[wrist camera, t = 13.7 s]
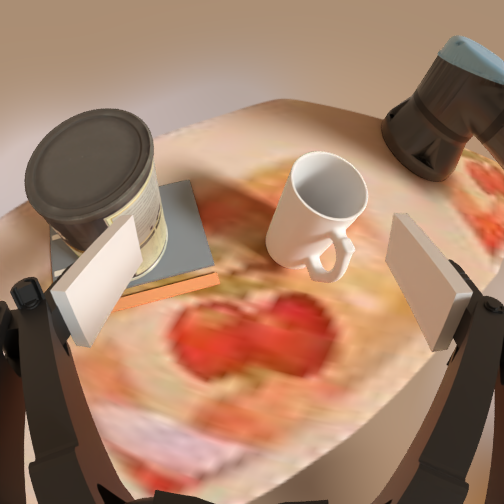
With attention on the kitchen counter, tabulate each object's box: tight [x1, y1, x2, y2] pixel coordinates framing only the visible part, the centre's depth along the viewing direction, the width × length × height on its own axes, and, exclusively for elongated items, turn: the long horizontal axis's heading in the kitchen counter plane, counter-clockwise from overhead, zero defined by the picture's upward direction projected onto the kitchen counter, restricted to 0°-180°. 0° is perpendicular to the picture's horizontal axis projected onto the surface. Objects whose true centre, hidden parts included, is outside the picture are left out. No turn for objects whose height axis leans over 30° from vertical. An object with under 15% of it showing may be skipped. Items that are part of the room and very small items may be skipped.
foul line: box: [111, 272, 220, 313], centre depth 29 cm, size 18×1×1 cm, turn 109°
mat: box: [50, 180, 214, 288], centre depth 32 cm, size 18×11×1 cm, turn 109°
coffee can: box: [25, 109, 168, 281], centre depth 25 cm, size 10×10×14 cm
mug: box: [266, 151, 368, 283], centre depth 29 cm, size 10×7×12 cm, turn 15°
